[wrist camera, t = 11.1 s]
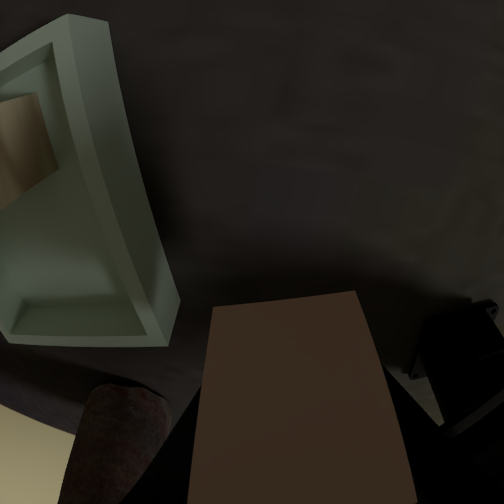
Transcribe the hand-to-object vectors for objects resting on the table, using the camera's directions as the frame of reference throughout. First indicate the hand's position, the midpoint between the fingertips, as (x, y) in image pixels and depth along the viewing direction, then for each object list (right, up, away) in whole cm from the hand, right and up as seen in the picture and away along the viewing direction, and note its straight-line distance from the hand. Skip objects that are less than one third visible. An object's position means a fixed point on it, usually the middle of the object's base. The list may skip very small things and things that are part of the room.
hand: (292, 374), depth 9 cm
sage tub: (-12, +6, +6) cm, 15 cm away
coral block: (0, +1, +1) cm, 1 cm away
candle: (-12, -9, +16) cm, 21 cm away
